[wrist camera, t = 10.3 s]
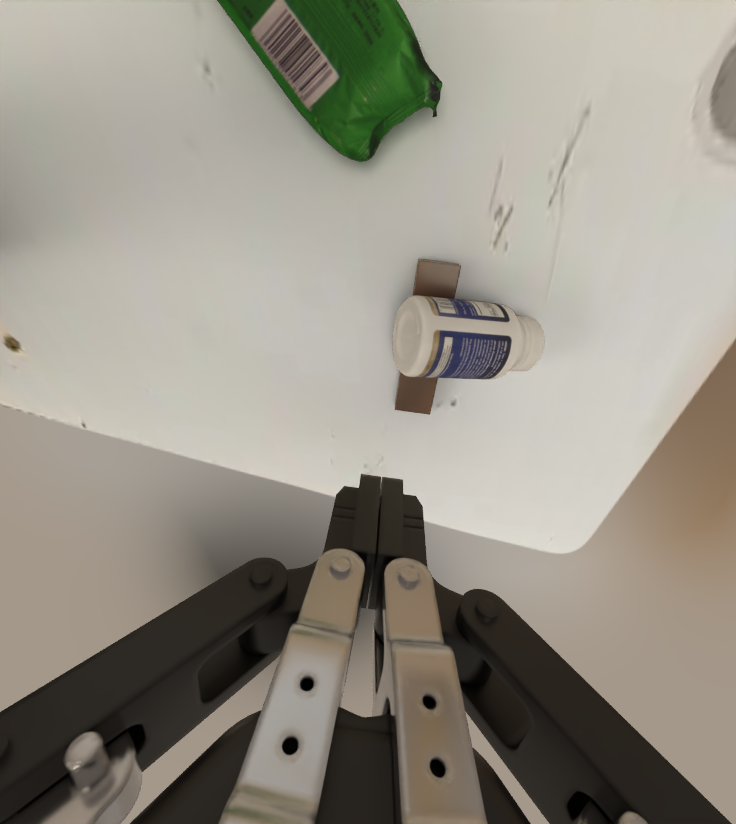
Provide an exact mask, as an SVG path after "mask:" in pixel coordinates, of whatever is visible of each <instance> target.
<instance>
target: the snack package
mask: <svg viewBox="0 0 736 824" xmlns="http://www.w3.org/2000/svg"><path fill="white" fill-rule="evenodd" d="M217 1H218V2H219V3H220V5H221V6H222V7H223V9H224V10H225V12H226V13H227V15H228V16H229V17H230V18H231V20H232V21H233V22H234V24H235V25H236V26H237V28H238V29H239V31H240V32H241V33H242V35H243V36H244V37H245V39H246V40H247V41H248V43H249V44H250V46H251V47H252V49H253V50H254V51H255V52H256V54H257V55H258V56H259V58H260V59H261V61H262V62H263V64H264V65H265V66H266V68H267V69H268V70H269V72H270V73H271V74H272V76H273V77H274V79H275V80H276V82H277V83H278V84H279V86H280V87H281V88H282V90H283V91H284V92H285V94H286V95H287V97H288V98H289V99H290V100H291V102H292V103H293V104H294V106H295V107H296V109H297V110H298V111H299V112H300V114H301V115H302V116H303V117H304V118H305V119H306V120H307V122H308V123H309V124H310V125H311V126H312V127H313V128H314V129H315V130H316V131H317V132H318V133H319V135H320V136H321V137H322V138H323V139H324V140H325V141H326V142H328V143H329V144H330V145H331V146H332V147H333V148H334V149H336V150H337V151H338V152H339V153H341V154H342V155H344V156H346V157H348V158H350V159H353V160H356V161H359V162H363V161H367V160H369V159H370V158H371V157H372V156H373V155H374V154H375V151H376V149H377V147H378V145H379V144H380V142H381V141H382V139H383V138H384V137H385V135H386V134H387V133H388V132H389V131H390V130H391V129H392V128H393V127H394V126H396V125H397V124H399V123H401V122H402V121H403V120H404V119H406V118H407V117H408V116H410V115H411V114H413V113H414V112H416V111H417V110H419V109H421V108H423V107H430V108H432V110H433V117H436V116H437V113H436V107H437V104H438V103H439V100H440V91H441V88H442V82H441V81H440V80H439V79H438V77H437V76H436V75H435V74H434V72H433V71H432V70H431V69H430V67H429V66H428V64H427V63H426V61H425V59H424V57H423V54H422V52H421V49H420V46H419V43H418V40H417V38H416V36H415V33H414V31H413V29H412V27H411V24H410V23H409V21H408V19H407V17H406V15H405V13H404V11H403V9H402V8H401V6H400V5H399V3H398V2H397V0H217Z"/></svg>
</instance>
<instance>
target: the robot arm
mask: <svg viewBox="0 0 736 824" xmlns="http://www.w3.org/2000/svg"><path fill="white" fill-rule="evenodd" d="M380 485H381V488H380ZM369 588H370V592H369ZM368 593H369V605H368V608H369V609H375V623H374V628H373V634H372V649H373V650H372V651H373V652H372V655H373V711H372V717H366V718H365V717H360V716H358V715H356V714H353V713H351V712H349V711H347V710H345V709H343V708H341V703H342V697H343V692H344V686H345V682H346V676H347V671H348V666H349V660H350V655H351V649H352V644H353V639H354V634H355V630H356V628H357V626H358V623H359V617H360V611H361V608H366V605H367V599H368ZM281 652H282V653H281ZM280 654H281V656H280V659H279V662H278V665H277V667H276V670H275V673H274V676H273V679H272V682H271V685H270V688H269V690H268V694H267V696H266V699H265V702H264V705H263V708H262V710H261V711H258V712H256V713H254V714H251V715H249V716H247V717H246V718H244V719H242V720H241V721H239V722H238V723H236V724H235V725H234V726H233V727H231V728H229V729H228V730H227V731H226V732H225V733H224V734H223V735H222V736H221V737H219V738H218V740H216V741H215V742H214V743H213V744H212V745H211V746H210V747H209V748H208V749H207V750H206V751H205V752H204V753H203V754H202V755H201V756H200V757H199V758H198V759H197V760H196V761H194V762H193V763H192V764H191V765H190V766H189V767H188V768H187V769H186V770H185V771H184V772H183V773H182V774H181V775H180V776H179V777H178V778H177V779H176V780H175V781H174V782H173V783H172V784H170V785H169V787H167V788H166V789H165V790H164V791H163V792H162V793H161V794H160V795H159V796H158V797H157V798H156V799H155V800H154V801H153V802H152V803H151V804H150V805H149V806H147V807H146V808H145V809H144V810H143V811H142V812H141V813H140V814H139V815H138V816H137V817H136V818H135V819H134V820H133V821H132V822H131V823H130V824H530V822H529V821H528V819H527V818H526V816H525V815H524V814H523V812H522V810H521V809H520V808H519V806H518V805H517V803H516V802H515V800H514V799H513V797H512V796H511V795H510V793H509V791H508V790H507V789H506V787H505V786H504V784H503V783H502V781H501V780H500V778H499V777H498V775H497V774H496V773H495V771H494V770H493V769H492V767H491V766H490V765H489V764H488V763H487V761H486V760H485V759H484V758H483V757H482V756H481V755H480V754H479V753H478V752H477V751H476V750H475V749H474V748H472V743H471V738H470V734H469V728H468V723H467V718H466V713H465V711H466V712H467V714H468V715H469V716H470V718H471V719H472V720H473V722H474V723H475V724H476V726H477V727H478V728H479V730H480V731H481V732H482V734H483V735H484V736H485V738H486V739H487V740H488V742H489V743H490V744H491V746H492V747H493V748H494V750H495V751H496V752H497V754H498V755H499V756H500V758H501V759H502V760H503V762H504V763H505V765H506V766H507V767H508V769H509V770H510V771H511V773H512V774H513V775H514V776H515V778H516V779H517V781H518V782H519V783H520V785H521V786H522V787H523V789H524V790H525V791H526V793H527V794H528V795H529V797H530V798H531V799H532V801H533V802H534V803H535V805H536V806H537V807H538V809H539V810H540V811H541V813H542V814H543V815H544V817H545V818H546V819H547V821H548V822H549V823H550V824H731V823H730V822H729V821H728V820H727V819H726V818H725V817H724V816H723V815H722V814H721V813H720V812H719V811H718V810H717V809H716V808H715V807H714V806H713V805H712V804H711V803H710V802H709V801H708V800H707V799H706V798H705V797H704V796H703V795H702V794H701V793H700V792H699V791H698V790H697V789H696V788H695V787H694V786H693V785H691V783H689V781H687V780H686V779H685V778H684V777H683V776H682V775H681V774H680V773H679V772H678V771H677V770H676V769H675V768H674V767H673V766H672V765H671V764H670V763H669V762H668V761H667V760H666V759H665V758H664V757H663V756H662V755H661V754H660V753H659V752H658V751H657V750H656V749H655V748H654V747H653V746H652V745H651V744H650V743H649V742H648V741H647V740H645V738H643V737H642V736H641V735H640V734H639V733H638V732H637V731H636V730H635V729H634V728H633V727H632V726H631V725H630V724H629V723H628V722H627V721H626V720H625V719H624V718H623V717H622V716H621V715H620V714H619V713H618V712H617V711H616V710H615V709H614V708H613V707H612V706H611V705H610V704H609V703H608V702H607V701H605V699H604V698H602V697H601V696H600V695H599V694H598V693H597V692H596V691H595V690H594V689H593V688H592V687H591V686H590V685H589V684H588V683H587V682H586V681H585V680H584V679H583V678H582V677H581V676H580V675H579V674H578V673H577V672H576V671H575V670H574V669H573V668H572V667H571V666H570V665H569V664H568V663H567V662H566V661H565V660H564V659H562V658H561V657H560V655H558V653H556V652H555V651H554V650H553V649H552V648H551V647H550V646H549V645H548V644H547V643H546V642H545V641H544V640H543V639H542V638H541V637H540V636H539V635H538V634H537V633H536V632H535V631H534V630H533V629H532V628H531V627H530V626H529V625H528V624H527V623H526V622H525V621H524V620H522V618H521V617H520V616H519V615H517V613H516V612H515V611H514V610H512V609H511V608H510V607H509V606H508V605H507V604H506V603H505V602H504V601H503V600H502V599H501V598H500V597H498V596H497V595H496V594H494V593H492V592H489V591H487V590H482V589H474V590H470V591H468V592H466V593H465V594H464V595H460V594H458V593H455V592H453V591H451V590H449V589H447V588H445V587H443V586H442V585H440V584H439V583H438V582H437V581H436V580H435V579H434V578H433V577H432V575H431V573H430V571H429V570H428V568H427V560H426V546H425V533H424V520H423V507H422V505H421V504H420V502H419V500H418V499H417V497H416V496H411V495H404V494H403V480H401V479H394V478H387V477H382V482H381V477H379V476H372V475H365V474H361V478H360V485H359V488H354V487H347V486H344V487H343V488H342V489H341V490H340V491H339V493H338V494H337V495H336V499H335V503H334V508H333V512H332V517H331V521H330V525H329V530H328V534H327V539H326V543H325V548H324V551H323V553H322V555H321V556H320V558H319V559H318V560H317V561H316V562H314V563H313V564H311V565H309V566H306V567H302V568H297V569H289V570H286V568H285V566H284V565H283V564H282V563H281V562H279V561H277V560H275V559H272V558H257V559H254V560H251V561H249V562H247V563H245V564H244V565H242V566H240V567H239V568H237V569H235V570H234V571H232V572H231V573H229V574H227V575H226V576H224V577H222V578H221V579H219V580H217V581H216V582H214V583H212V584H211V585H209V586H207V587H206V588H204V589H202V590H201V591H199V592H198V593H196V594H194V595H193V596H191V597H189V598H188V599H186V600H185V601H183V602H181V603H179V604H178V605H176V606H175V607H173V608H171V609H169V610H168V611H166V612H165V613H163V614H161V615H160V616H158V617H156V618H155V619H153V620H151V621H150V622H148V623H146V624H145V625H143V626H142V627H140V628H138V629H137V630H135V631H133V632H131V633H130V634H128V635H127V636H125V637H123V638H122V639H120V640H118V641H117V642H115V643H113V644H112V645H110V646H108V647H107V648H105V649H103V650H102V651H100V652H99V653H97V654H95V655H94V656H92V657H90V658H89V659H87V660H85V661H84V662H82V663H80V664H79V665H77V666H75V667H74V668H72V669H70V670H69V671H67V672H66V673H64V674H62V675H61V676H59V677H57V678H56V679H54V680H52V681H51V682H49V683H47V684H46V685H44V686H43V687H41V688H39V689H38V690H36V691H35V692H33V693H31V694H29V695H28V696H26V697H24V698H23V699H21V700H19V701H18V702H16V703H14V704H13V705H11V706H10V707H8V708H6V709H5V710H3V711H1V712H0V824H120V823H121V822H122V821H123V820H124V819H125V818H126V816H127V815H128V814H129V812H130V811H131V809H132V808H133V806H134V804H135V802H136V800H137V798H138V795H139V792H140V789H141V783H142V772H143V771H144V770H145V769H146V768H147V767H149V766H150V765H151V764H152V763H154V762H155V761H156V760H157V759H158V758H159V757H161V756H162V755H163V754H164V753H165V752H167V751H168V750H169V749H170V748H171V747H172V746H174V745H175V744H176V743H177V742H178V741H179V740H181V739H182V738H183V737H184V736H185V735H186V734H188V733H189V732H190V731H191V730H192V729H194V728H195V727H196V726H197V725H198V724H200V723H201V722H202V721H203V720H204V719H205V718H207V717H208V716H209V715H210V714H211V713H213V712H214V711H215V710H216V709H217V708H218V707H220V706H221V705H222V704H223V703H224V702H226V701H227V700H228V699H229V698H230V697H231V696H233V695H234V694H235V693H236V692H237V691H239V690H240V689H241V688H242V687H243V686H244V685H246V684H247V683H248V682H249V681H250V680H252V679H253V678H254V677H255V676H256V675H257V674H259V673H260V672H261V671H262V670H263V669H264V668H266V667H267V666H268V665H269V664H270V663H272V662H273V661H274V660H275V659H276V658H277V657H278V656H279V655H280Z"/></svg>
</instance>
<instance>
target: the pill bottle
mask: <svg viewBox="0 0 736 824" xmlns="http://www.w3.org/2000/svg"><path fill="white" fill-rule="evenodd" d="M543 348H544V332H543V329H542V327H541V325H540V324H539V322H538V321H536V320H535V319H533V318H530V317H521V316H516V315H515V313H514V312H513V311H512V310H511V309H510V308H508V307H507V306H505V305H501V304H495V303H486V302H476V301H467V300H458V299H448V298H439V297H429V296H411V297H409V298H407V299H406V300H405V301H404V302H403V304H402V305H401V307H400V308H399V310H398V313H397V316H396V319H395V324H394V329H393V355H394V360H395V364H396V366H397V368H398V369H399V371H400V372H401V373H402V374H403V375H405V376H409V377H430V378H461V379H496V378H499V377H501V376H503V375H504V374H506V373H507V372H508V371H527V370H529V369H531V368H532V367H534V366H535V365H536V364H537V362H538V361H539V359H540V357H541V355H542V352H543Z"/></svg>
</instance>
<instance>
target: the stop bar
mask: <svg viewBox="0 0 736 824" xmlns="http://www.w3.org/2000/svg"><path fill="white" fill-rule="evenodd" d="M460 268H461V266H460V265H459V264H456V263H449V262H441V261H433V260H426V259H418V264H417V271H416V277H415V283H414V289H413V296H429V297H439V298H448V299H454V297H455V292H456V287H457V282H458V277H459V273H460ZM436 383H437V378H430V377H409V376H405V375H403V374H402V373H401V372H400V377H399V383H398V389H397V395H396V401H395V410H401V411H408V412H415V413H423V414H430V412H431V407H432V402H433V397H434V393H435V388H436Z"/></svg>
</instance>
